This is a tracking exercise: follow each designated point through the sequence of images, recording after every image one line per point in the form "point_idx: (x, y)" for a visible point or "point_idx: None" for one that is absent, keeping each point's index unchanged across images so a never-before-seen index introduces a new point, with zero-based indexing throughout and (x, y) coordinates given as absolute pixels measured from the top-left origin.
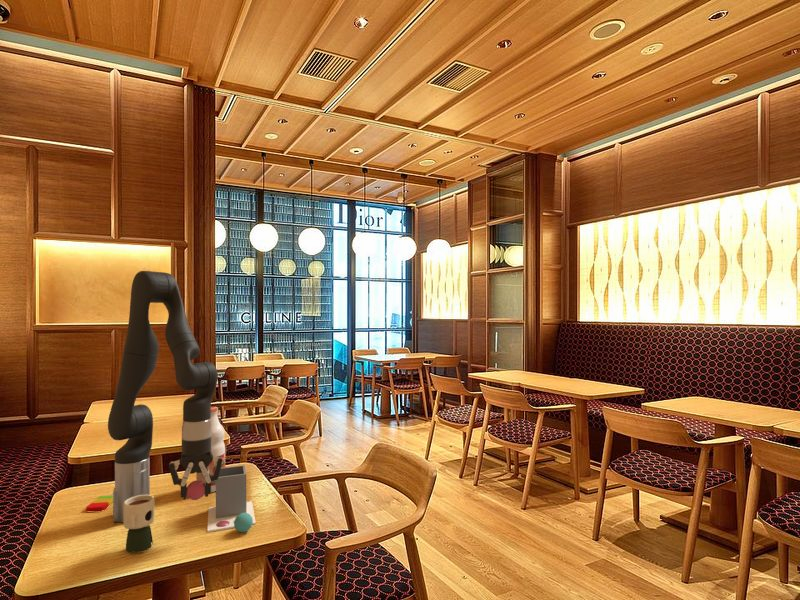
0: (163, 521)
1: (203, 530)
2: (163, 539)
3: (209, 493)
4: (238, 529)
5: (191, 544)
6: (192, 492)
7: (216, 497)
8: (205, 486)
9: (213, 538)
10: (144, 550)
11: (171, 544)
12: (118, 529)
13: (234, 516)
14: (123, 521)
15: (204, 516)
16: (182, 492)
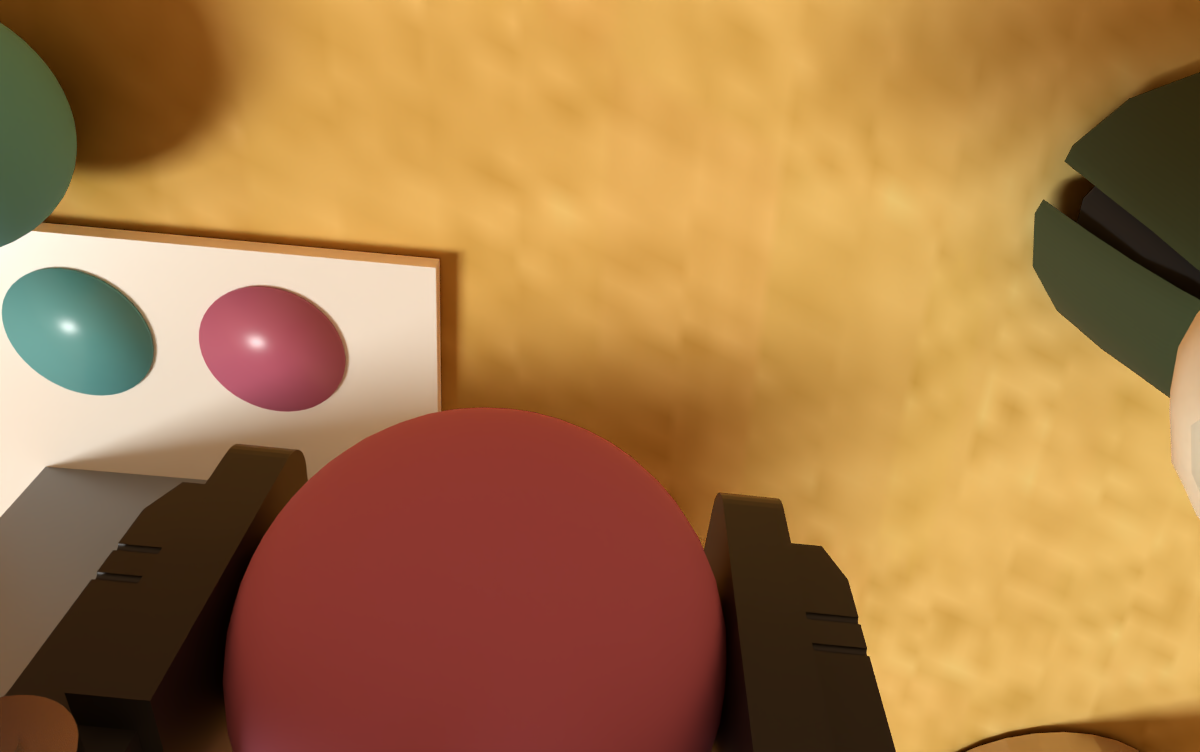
0: None
1: (483, 328)
2: (892, 315)
3: (186, 495)
4: (2, 24)
5: (621, 40)
6: (572, 503)
7: None
8: (182, 633)
9: (362, 75)
10: (1164, 89)
11: (836, 157)
12: (1188, 659)
13: (168, 459)
14: (1126, 747)
15: None
16: (818, 641)
